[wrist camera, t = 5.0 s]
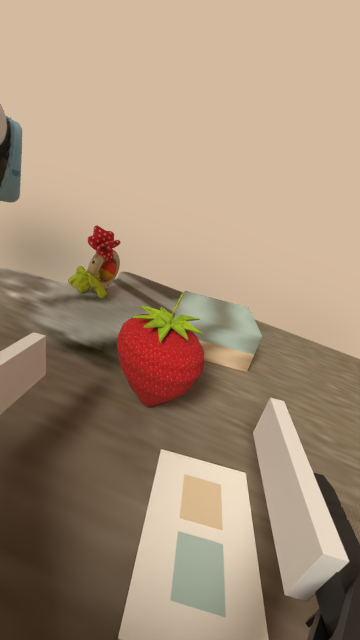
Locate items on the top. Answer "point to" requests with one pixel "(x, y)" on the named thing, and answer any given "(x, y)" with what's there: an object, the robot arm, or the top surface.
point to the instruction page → (196, 558)
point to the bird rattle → (98, 264)
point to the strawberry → (160, 355)
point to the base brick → (222, 330)
